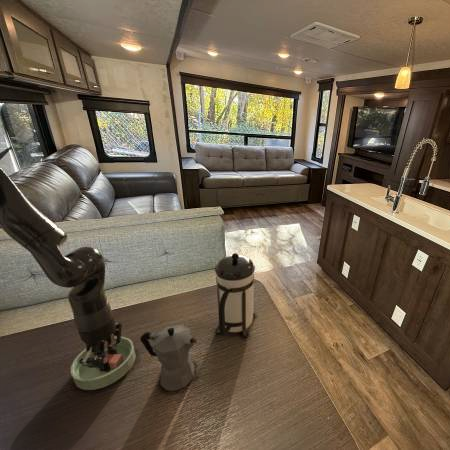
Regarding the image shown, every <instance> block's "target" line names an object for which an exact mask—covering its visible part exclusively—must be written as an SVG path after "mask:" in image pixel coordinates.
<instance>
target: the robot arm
mask: <svg viewBox="0 0 450 450" xmlns="http://www.w3.org/2000/svg"><path fill="white" fill-rule="evenodd" d="M0 228H1V230H3V232H4V233H5V234H7V235H8V237H10V238H11V239H12V240H14V241H15V242H16V243H17V244H19V245H20V246H21V247H23V248H24V249H25V250H27V251H28V252H29V253H30V254H31V256H32V257H33V259H34V260H35V262H36V263H37V264H38V266H39V267H40V269H41V270H42V272H43V273H44V275H45V277H46V278H47V279H48V280H49V281H50V282H51V283H53V284H54V285H55V286H57V287H61V288H65V289H70V290H69V292H68V294H67V300H68V304H69V306H70V309H71V312H72V315H73V316H72V317H73V320H74V324H75V326H76V330H77V331H78V335H79V337H80V341H82V342H83V343H84V344H85V346H86V348H85V349H86V351H87V354H86V356H85V358H81V359H80V361H79V363H80V364H82V365H85V366H87V367H89V368H99V370H100V371H101V372H106V371H109V370H110V365H109V362H108V360H107V354H118V353H117V350H116V349H117V344H119V343H120V341H121V337H122V326H123V323H122V322H116V320H115V316H114V313H113V310H112V307H111V304H110V302H109V301H108V297H107V294H106V290H105V282H106V280H105V279H106V261H105V258H104V256H103V254H102V253H101V252H100V251H99V250H98V249H96V248H94V247H92V246H81V247H79V248H76V249H75V250H72V251H71V252H70V253H67V254H66V255H64V254H63V252H62V250H61V247H62V246H63V245H64V244H65V243H66V242H67V241H68V238H69V237H68V234H67V233H66V232H65V231H64V230H63V229H62V228H60V227H59V226H58V225H57V224H56V223H54V221H52V219H50V218H49V217H48V216H47V215H45V214H44V213H43V212H42V211H40V210H39V209H38V208H37V207H36V206H35V205H34V204H33V203H32V201H30V200H29V199H28V197H27V196H26V195H25V194H24V193H23V192H22V191H21V189H20V188H19V187H18V185H16V184H15V182H14V180H12V178H10V176H9V175H8V174H7V173H6V171H5V170H4V169H3V168H2V167H1V166H0ZM114 337H117V339H115V338H114ZM100 357H101V358H100Z"/></svg>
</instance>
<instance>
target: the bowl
mask: <svg viewBox="0 0 450 450" xmlns="http://www.w3.org/2000/svg"><path fill="white" fill-rule="evenodd" d="M114 338H115V339H117V336H114ZM116 350H117V353H118V354H122V357H123V361H124V362H123V363H122V364H121V365H120V366H119V367H118V368H116V369H114V370H109V371H106V372H101V371H100V370H96V368H89V367H87V366H85V365H82V364H80V363H79V361H80V359H81V358H85V356H86V354H87V351H86V348H84V349H82V351H81V352H80V353H79V354H78V355H77V356H76V357H75V358H74V359H73V361H72V364H71V365H70V375H71V379H72V380H73V383H74V384H75V386H76V387H77V388H78V389H81V390H83V391H95V390H100V389H103V388H105V387H108V386H110V385H112V384H114V383H116V382H117V381H118V380H120V379H121V378H123V377H124V376H125V375H126V374H127V373H128V372H129V371H130V370H131V368H132V367H133V365H134V363H135V360H136V357H137V356H136V355H137V354H136V350H135V346H134V343H133V341H132V340H131V339H130V338H128V337H125V336H121V341H120V343H119V344H117V349H116Z"/></svg>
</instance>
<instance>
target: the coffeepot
mask: <svg viewBox="0 0 450 450" xmlns="http://www.w3.org/2000/svg"><path fill="white" fill-rule="evenodd" d="M150 341H152V345H151V342H150ZM140 342H141V343H142V345H143V346H144V348H145V350H146V351H147V352H148V354H149V356H151V357H157V360H158V362H159V363H160V364H161V369H160V380H159V381H160V382H159V383H160V384H159V385H160V386H161V387H162V388H163V389H165V390H166V391H168V392H173V391H177V390H181V389H184V388H185V387H186V386H187V385H188V384H189V383H190V382H191V381H192V380H193V379H194V378H195V364H194V363H193V359H192V357H191V355H190V350H191V348H192V347H193V346H194V345H195V344H197V343H198V339H197V338H196V337H194V336H193V335H191V329H190V328H188V327H186V326H185V325H183V324H176V325H170V326H166V327H165V328H164V329H162V330H161V331H159V332H157V331H152V332H149V331H146V332H144V333H143V334H142V335H141V336H140Z"/></svg>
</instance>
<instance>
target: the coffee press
mask: <svg viewBox="0 0 450 450" xmlns="http://www.w3.org/2000/svg"><path fill="white" fill-rule="evenodd" d="M255 270H256V265H255V263H254V262H253V261H252V259H251V258H249V257H248V256H246V255H244V254H238V253H237V252H234V253H232V254H231V255H227V256H224V257H222V258H221V259H219V261H218V262H217V264H216V265H215V267H214V272H215V275H216V277H215V281H216V282H215V283H216V295H217V313H218V325H217V327H216V329H215V331H216V333H217V334H220V336H222V337H226V336H227V335H228V334H229V333H241V337H242V338H246V337H248V332H247V329H248V328H249V327H250V326H251V324H252V323H253V319H254V318H255V317H256V314H255V313H254V283H255V274H254V273H255Z"/></svg>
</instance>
